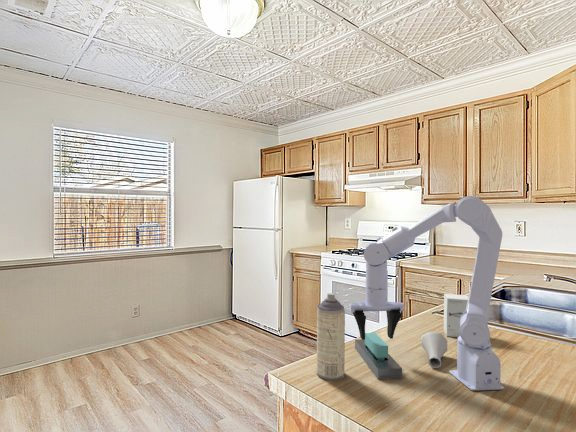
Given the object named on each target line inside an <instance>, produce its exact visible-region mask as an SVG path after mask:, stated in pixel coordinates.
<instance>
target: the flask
mask: <svg viewBox="0 0 576 432" xmlns="http://www.w3.org/2000/svg"><path fill="white" fill-rule="evenodd" d="M420 346H421V347H422V348H423V350H424V351H425V353H426V354H427V356H428V365H429V366H430V367H431V368H432V369H439V368H441V367H442V360H441V359H442V357H443V356H444V355H445V354H446V352H447V351H448V339H447V338H446V336H444V334H442V332H439V331H428V332H426V333H423V335H421V337H420Z"/></svg>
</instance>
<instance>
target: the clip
mask: <svg viewBox="0 0 576 432" xmlns="http://www.w3.org/2000/svg"><path fill="white" fill-rule="evenodd" d="M365 345H366V346H367V347H368V350H371V352H372V353H373V354H374V355H375V356H376V360H384V358H388V354H389V345H388V344H387V343H386V342H385V341H384V340H383V339H382V338H381V337H380V336H379V335H378V334H377V333H376V332H365Z"/></svg>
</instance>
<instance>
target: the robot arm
mask: <svg viewBox="0 0 576 432" xmlns="http://www.w3.org/2000/svg"><path fill="white" fill-rule="evenodd" d="M456 218H458V219H459V220H460V221H461V222H463V223H464V224H465V225H468V226H469V227H470V228H471V229H472V230H473V232H475V234H476V235H477V236H478V244H477V249H476V254H475V261H474V266H473V269H472V277H471V282H470V286H469V287H470V288H469V293H468V297H469V298H468V302H467V306H466V310H465V312H464V313H463V314H462V315H461V317H460V330H459V333H460V336H459V337H456V338H457V344H456V346H457V348H456V357H457V358H456V359H457V360H456V369H454V370H449V374H450V375H452V376H453V377H454V378H456V379H457V380H458V381H459V382H460V383H462V384H463V385H464V386H465V387H466V388H468V389H469V390H470V391H473V392H474V391H475V392H476V391H490V390H491V391H494V390H495V391H496V390H504V389H505V387H504V386H503V385H502V384H501V367H502V366H501V360H500V358H499V357H498V355H497V354H496V353H495V352H494V350H493V347H492V342H491V340H490V339H491V331H490V328H489V326H488V325H489V315H490V304H491V301H492V299H491V298H492V293H493V289H494V283H495V278H496V272H497V266H498V263H499V256H500V251H501V243H502V240H503V231H502V228H501V227H500V224H499V222H498V221H497V218H496V217H495V215H494V214H493V211H492V209H491V206H489V205H488V204H487V203H485V202H484V200H482V199H481V198H479V197H478V196H473V195H467V196H463V197H462V198H460V199H459V200H458V201H453V202H451V203H448V204H446V205H444V206H441V207H439V208H438V209H436V210H434V211H433V212H431V213H430V214H428V215H427V216H425V217H423V218H422V219H421V220H419V221H418V222H416V223H414V224H413V225H410V226H409V227H407V226H399V227H397V226H395V227H393V228H391V232H390V233H388V234H386V235H385V236H383V237H381V236H380V237H377V238H376V241H377V242H373V243H369V244H368V245H367V246H366V247H365V248H364V250H363V258H364V260H365V264H366V265H365V301H361V302H355V303H354V302H352V303H349V304H348V305H349V306H348V307H349V309H348V311H349V312H350V313H352V315H353V317H354V319H355V322H356V324H357V328H358V332H359V338H360V339H362V340H365V333H366V321H367V316H366V315H365V312H386V319H387V321H386V322H387V330H386V331H387V333H386V334H387V337H388V338H389V339H392V340H393V339H394V335H395V331H396V327H397V325H398V323H399V322H400V320H401V318H402V316H403V315H402V312H404V311H405V303H403V302H401V301H400V302H399V301H398V302H397V301H388V296H389V295H388V290H389V289H388V288H389V287H388V286H389V285H388V283H389V282H388V279H389V278H388V274H389V272H388V271H389V270H388V260H389V258H393V257H396V256H397V255H399V254H401V253H403V252H405V251H406V250H408V249H409V248H411V247H412V246H414V245H415V241H416V238H418V237H419V236H421V235H423V234H424V233H427V232H429V231H431V230H432V229H434V228H436V227H438V226H439V225H442V224H443V223H444V224H445V223H455V222H457V219H456Z"/></svg>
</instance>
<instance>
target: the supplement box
mask: <svg viewBox="0 0 576 432" xmlns="http://www.w3.org/2000/svg"><path fill="white" fill-rule="evenodd" d="M468 298H469V295H466V294H451V293H444V294H443V331H444V335H445V337H453V338H458V337H459V336H460V333H459V330H460V317H461V315H462V314H463V313H464V312H465V310H466V306H467V302H468Z"/></svg>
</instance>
